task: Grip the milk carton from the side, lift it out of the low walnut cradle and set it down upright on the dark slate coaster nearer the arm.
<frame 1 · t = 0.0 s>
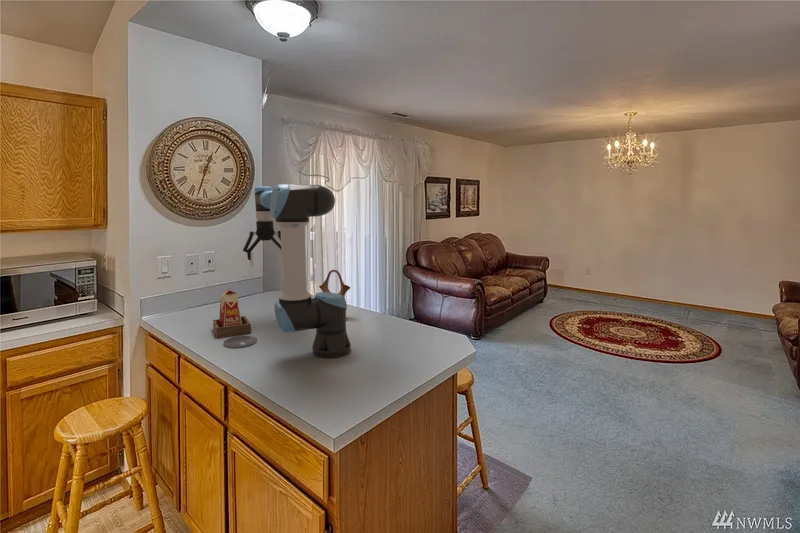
hand: (266, 265, 197), 28 cm above the counter, tool pointing down, fingers open, 13 cm apart
milk carton: (231, 330, 190), resting in walnut cradle
slate coaster: (240, 342, 175), on the counter
walnut cradle: (232, 331, 189), on the counter
brown handbag: (335, 319, 209), on the counter
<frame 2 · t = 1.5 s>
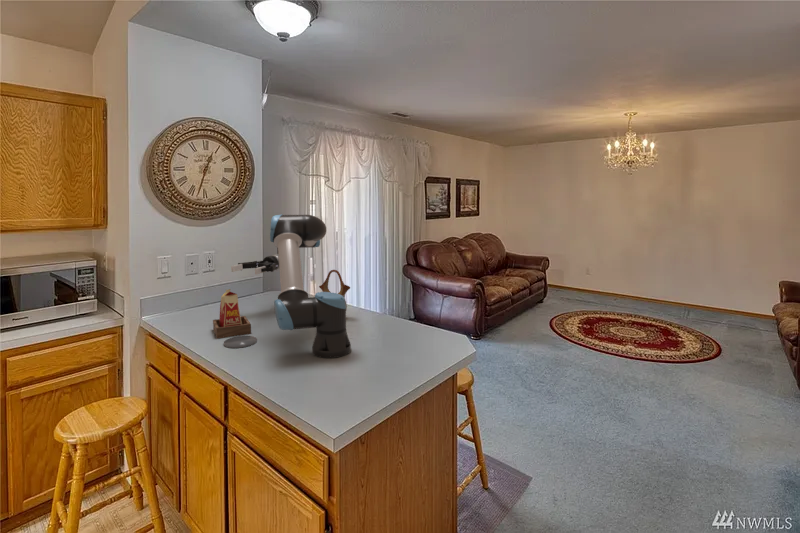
hand: (243, 270, 193), 27 cm above the counter, tool horizontal, fingers open, 13 cm apart
nothing on the counter moved.
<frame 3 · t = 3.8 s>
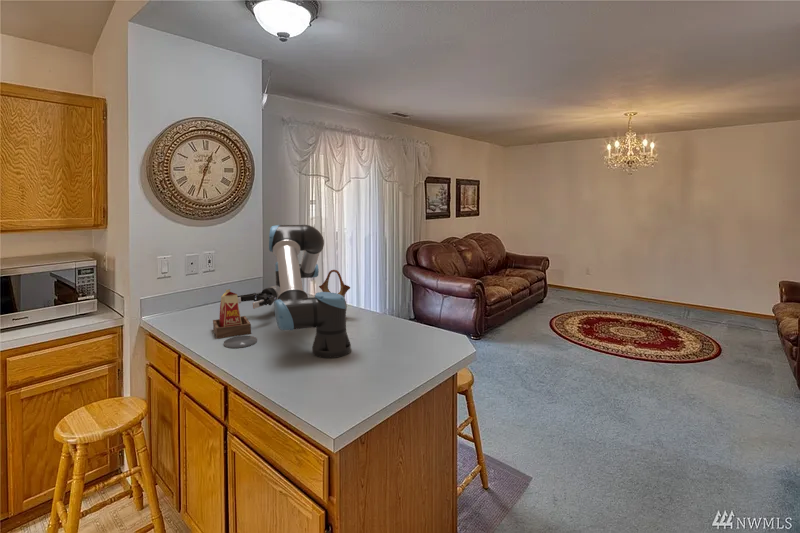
hand: (241, 304, 194), 11 cm above the counter, tool horizontal, fingers open, 13 cm apart
nothing on the counter moved.
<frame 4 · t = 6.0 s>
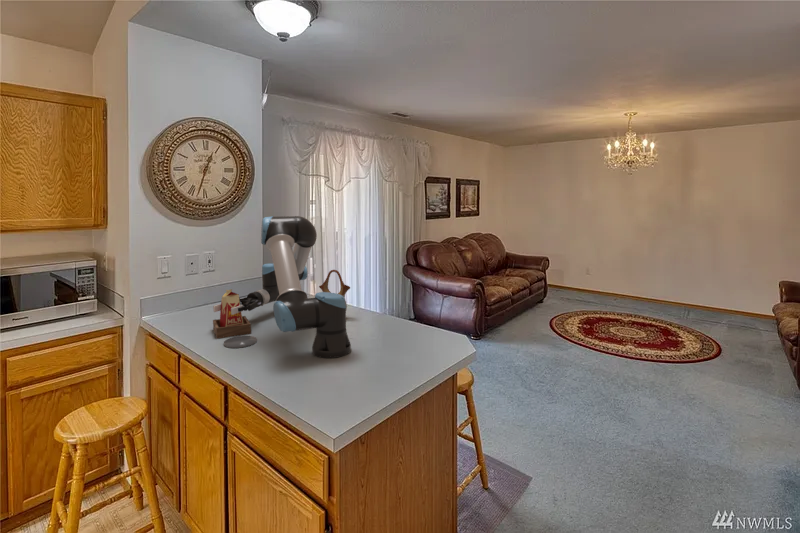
hand: (222, 310, 183), 11 cm above the counter, tool horizontal, fingers closed on milk carton, 9 cm apart
milk carton: (232, 331, 189), resting in walnut cradle, touching gripper
everything else where it was.
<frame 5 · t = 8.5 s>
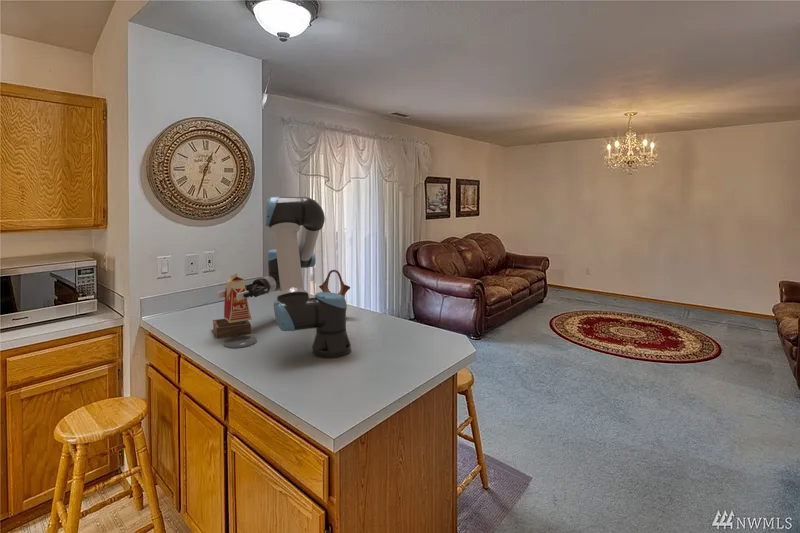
hand: (227, 296, 172), 20 cm above the counter, tool horizontal, fingers closed on milk carton, 9 cm apart
milk carton: (237, 319, 179), point 8 cm above the counter, touching gripper
everything else where it was.
when the fingers open (13 cm above the counter, at t = 10.7 s): milk carton drops 1 cm, resting on slate coaster.
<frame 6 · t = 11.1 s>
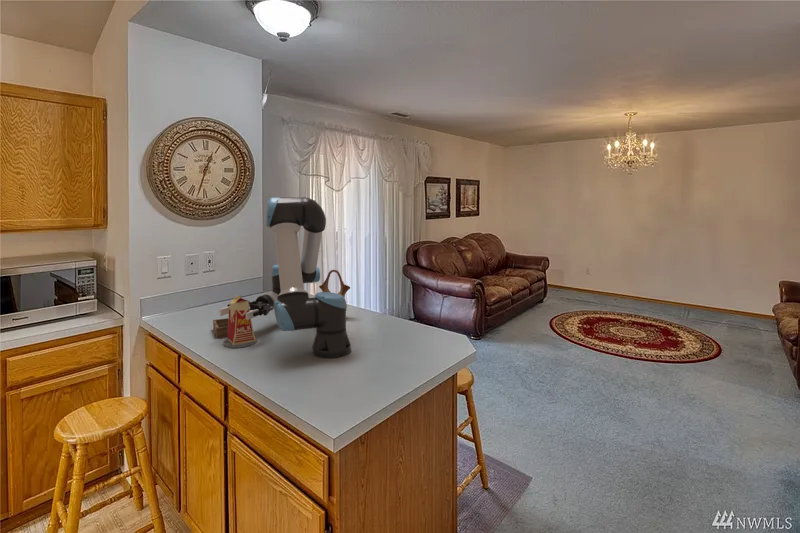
hand: (233, 314, 169), 13 cm above the counter, tool horizontal, fingers open, 13 cm apart
milk carton: (241, 340, 175), point 1 cm above the counter, touching slate coaster
everything else where it was.
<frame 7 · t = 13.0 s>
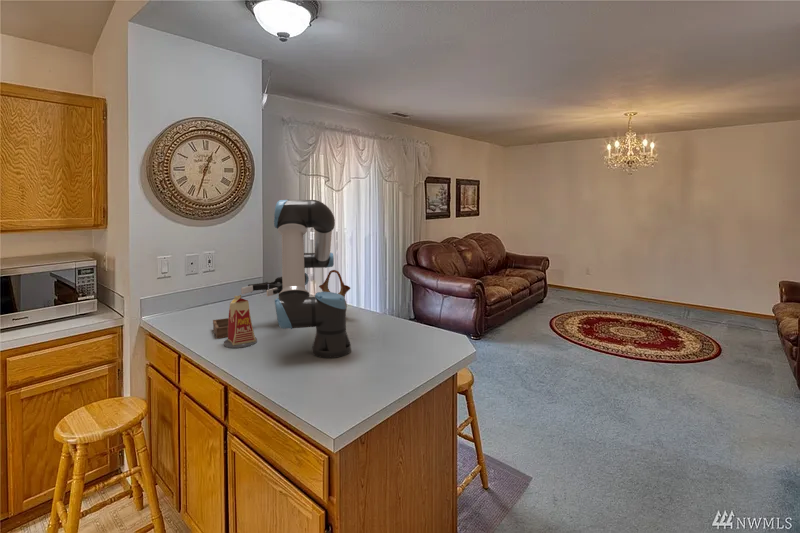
hand: (254, 292, 181), 19 cm above the counter, tool horizontal, fingers open, 13 cm apart
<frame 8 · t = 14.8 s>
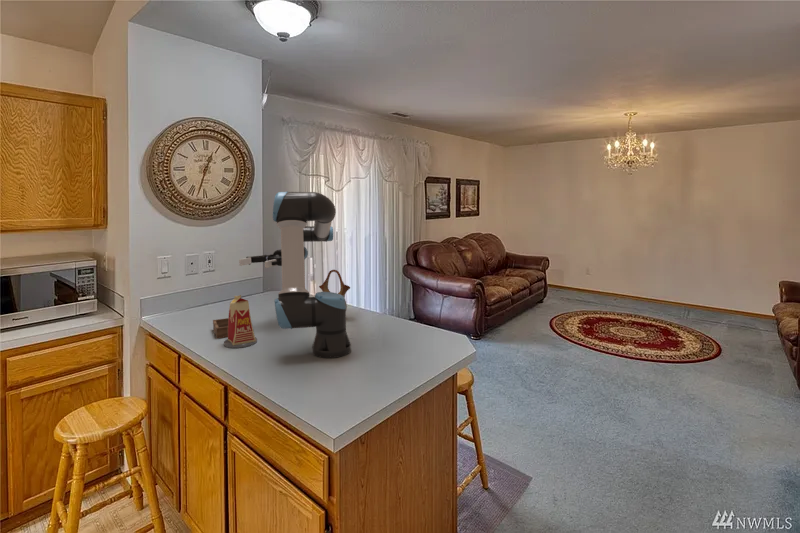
hand: (252, 263, 178), 32 cm above the counter, tool horizontal, fingers open, 13 cm apart
at the end: milk carton 0.5 cm from the slate coaster (horizontally); milk carton tilted 0°; milk carton point 0.6 cm above the counter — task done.
